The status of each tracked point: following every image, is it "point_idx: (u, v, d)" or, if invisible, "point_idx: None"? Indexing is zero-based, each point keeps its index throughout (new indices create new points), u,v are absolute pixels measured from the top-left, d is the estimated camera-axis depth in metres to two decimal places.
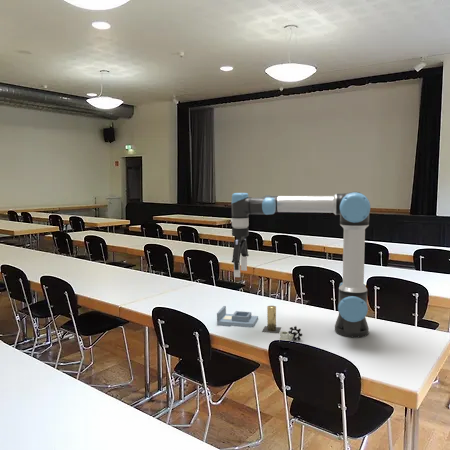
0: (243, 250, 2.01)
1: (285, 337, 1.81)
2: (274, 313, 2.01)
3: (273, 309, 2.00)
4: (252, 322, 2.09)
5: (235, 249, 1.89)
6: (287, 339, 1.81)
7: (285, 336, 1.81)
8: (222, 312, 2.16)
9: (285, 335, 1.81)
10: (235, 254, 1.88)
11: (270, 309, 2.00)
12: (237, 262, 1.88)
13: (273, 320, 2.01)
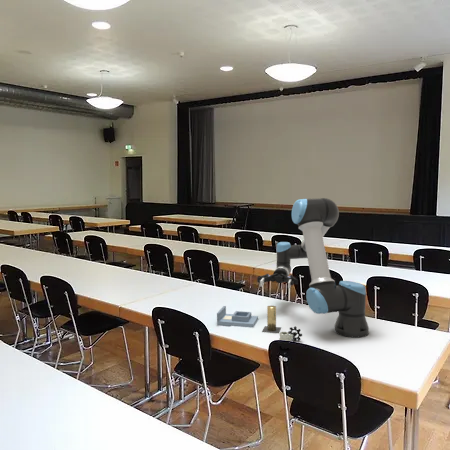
0: (287, 279, 2.18)
1: (285, 337, 1.81)
2: (274, 313, 2.01)
3: (273, 309, 2.00)
4: (252, 322, 2.09)
5: None
6: (287, 339, 1.81)
7: (285, 336, 1.81)
8: (222, 312, 2.16)
9: (285, 335, 1.81)
10: None
11: (270, 309, 2.00)
12: (259, 278, 2.19)
13: (273, 320, 2.01)
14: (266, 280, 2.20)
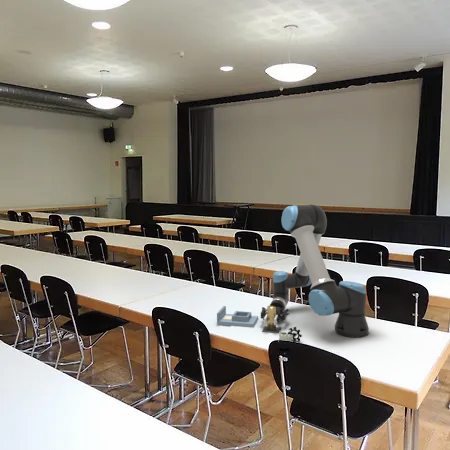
0: (277, 314, 2.07)
1: (284, 338, 1.80)
2: (274, 313, 2.01)
3: (273, 309, 2.00)
4: (252, 322, 2.09)
5: None
6: (286, 340, 1.80)
7: (284, 337, 1.80)
8: (222, 312, 2.16)
9: (284, 336, 1.80)
10: None
11: (270, 309, 2.00)
12: (263, 314, 2.05)
13: (273, 320, 2.01)
14: None
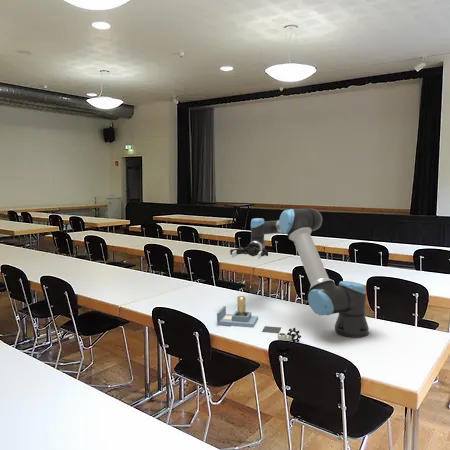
0: (258, 251, 2.28)
1: (283, 339, 1.79)
2: (243, 303, 2.12)
3: (242, 299, 2.11)
4: (252, 322, 2.09)
5: None
6: None
7: (283, 338, 1.79)
8: (222, 312, 2.16)
9: (283, 337, 1.79)
10: None
11: (240, 299, 2.11)
12: (232, 251, 2.29)
13: (243, 310, 2.12)
14: (239, 252, 2.30)
